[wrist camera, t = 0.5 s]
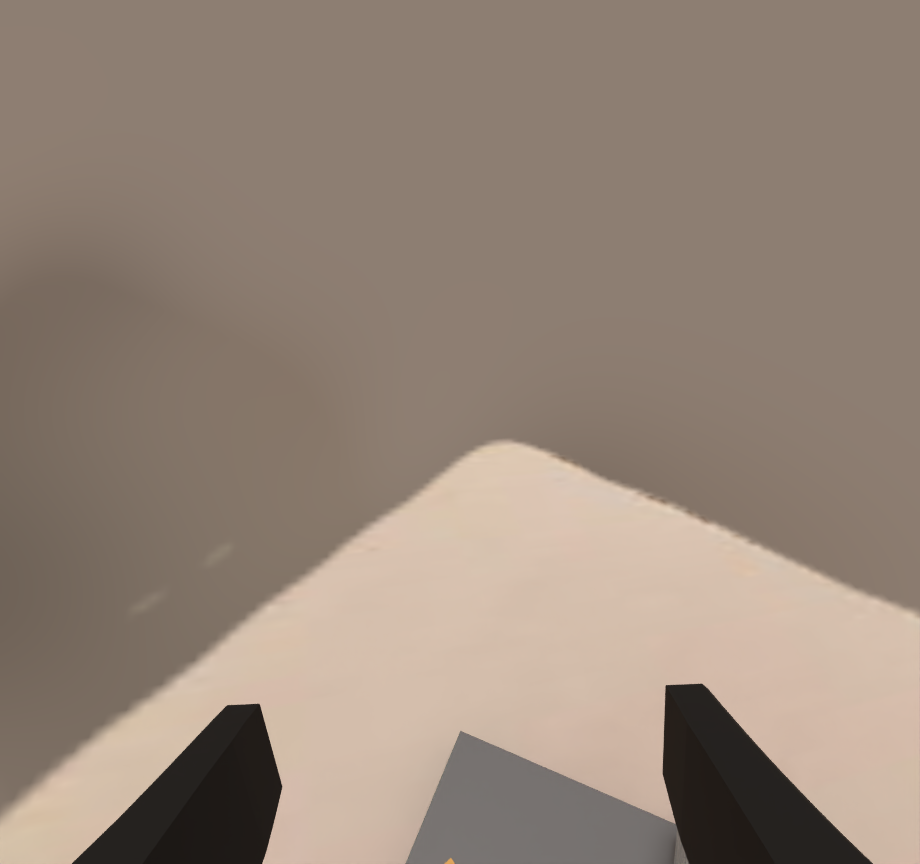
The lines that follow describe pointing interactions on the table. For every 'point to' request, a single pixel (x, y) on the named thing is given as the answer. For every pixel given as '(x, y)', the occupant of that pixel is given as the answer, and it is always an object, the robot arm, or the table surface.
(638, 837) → the dial plate
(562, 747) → the table surface
